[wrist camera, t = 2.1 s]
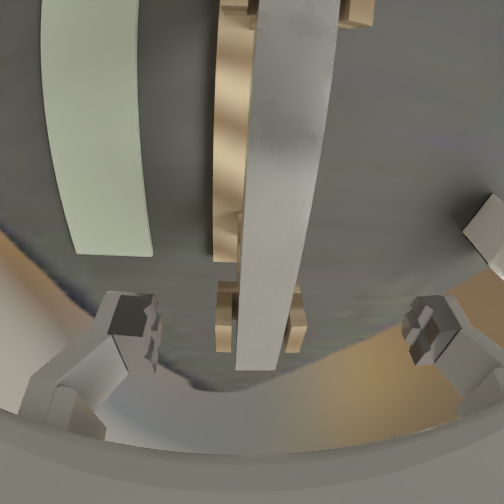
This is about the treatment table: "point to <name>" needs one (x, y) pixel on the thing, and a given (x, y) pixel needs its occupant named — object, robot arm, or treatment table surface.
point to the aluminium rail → (280, 165)
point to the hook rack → (234, 153)
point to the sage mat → (95, 122)
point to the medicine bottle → (489, 234)
